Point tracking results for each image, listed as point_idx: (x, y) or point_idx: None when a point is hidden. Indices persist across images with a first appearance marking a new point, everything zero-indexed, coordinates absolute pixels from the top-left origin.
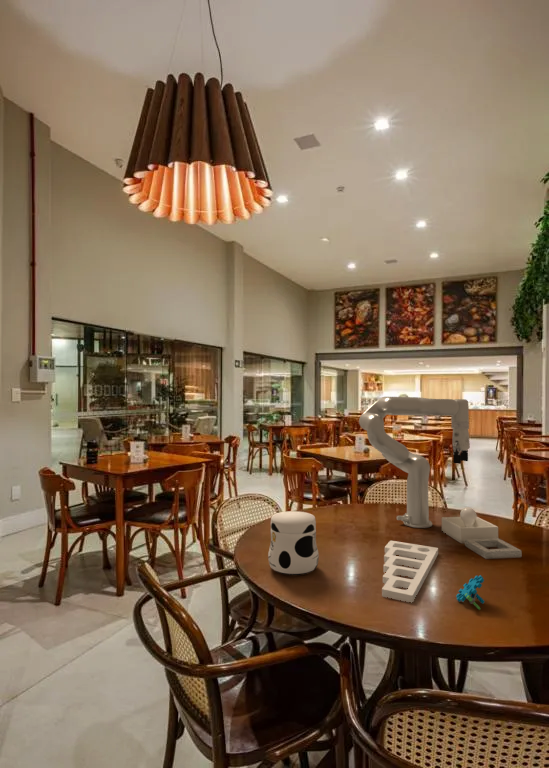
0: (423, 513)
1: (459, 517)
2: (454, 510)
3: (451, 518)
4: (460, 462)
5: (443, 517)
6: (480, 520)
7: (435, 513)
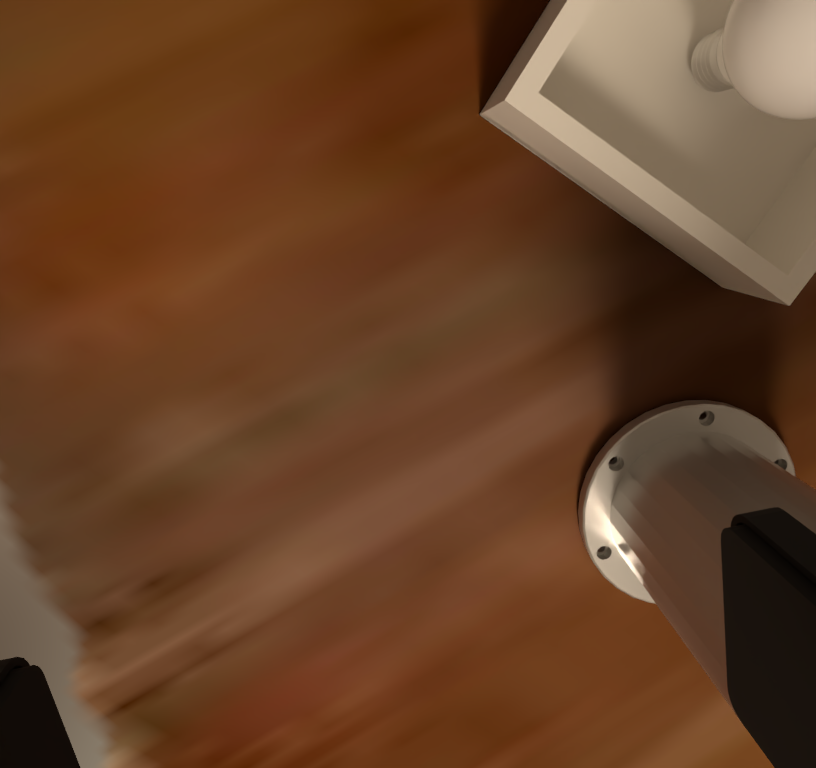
0: (788, 473)
1: (673, 192)
2: (53, 552)
3: (732, 238)
4: (792, 525)
5: (782, 292)
6: (594, 1)
7: (285, 592)
